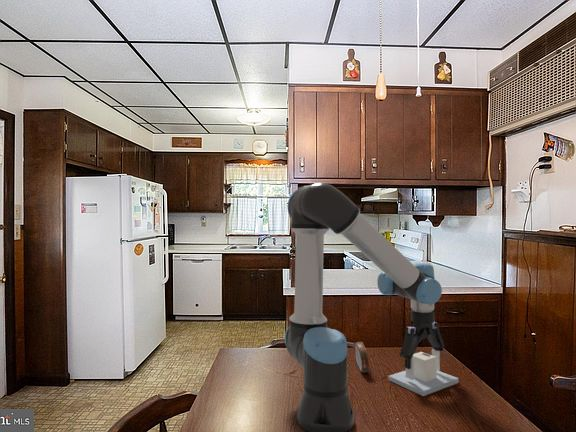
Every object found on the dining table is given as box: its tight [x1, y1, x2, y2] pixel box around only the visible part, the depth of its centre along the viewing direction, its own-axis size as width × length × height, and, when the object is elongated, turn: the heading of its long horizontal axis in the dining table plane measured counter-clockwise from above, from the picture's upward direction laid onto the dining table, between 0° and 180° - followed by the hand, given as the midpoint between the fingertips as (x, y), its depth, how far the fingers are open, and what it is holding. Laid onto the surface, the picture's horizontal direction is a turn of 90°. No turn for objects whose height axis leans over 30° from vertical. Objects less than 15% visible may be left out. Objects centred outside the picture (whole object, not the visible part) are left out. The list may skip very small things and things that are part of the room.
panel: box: [387, 369, 459, 397], centre depth 126 cm, size 18×14×6 cm
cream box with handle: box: [412, 351, 437, 382], centre depth 126 cm, size 6×6×7 cm
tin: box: [354, 341, 370, 373], centre depth 138 cm, size 15×3×8 cm, turn 178°
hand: (423, 373), depth 126 cm, fingers open, 13 cm apart
